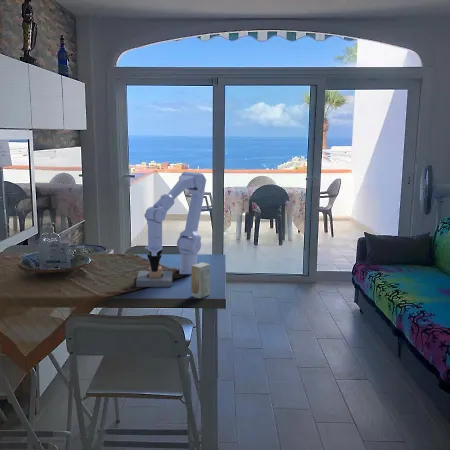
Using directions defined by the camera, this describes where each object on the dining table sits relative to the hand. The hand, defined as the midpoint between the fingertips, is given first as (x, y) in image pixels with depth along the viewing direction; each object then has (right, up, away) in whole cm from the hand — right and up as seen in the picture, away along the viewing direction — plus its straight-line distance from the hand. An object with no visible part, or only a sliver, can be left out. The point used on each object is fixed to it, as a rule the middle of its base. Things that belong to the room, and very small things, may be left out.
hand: (155, 268), depth 198 cm
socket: (0, -5, +1) cm, 5 cm away
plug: (0, -5, +1) cm, 5 cm away
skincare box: (+19, -9, -15) cm, 26 cm away
